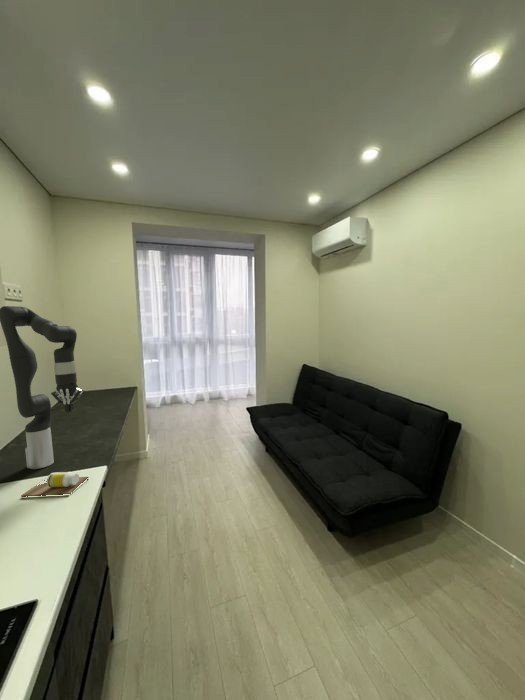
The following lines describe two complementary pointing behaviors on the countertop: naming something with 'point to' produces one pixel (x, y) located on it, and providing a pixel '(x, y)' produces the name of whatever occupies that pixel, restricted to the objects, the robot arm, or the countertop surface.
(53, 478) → the supplement bottle
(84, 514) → the countertop surface
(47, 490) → the walnut board
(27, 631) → the countertop surface
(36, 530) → the countertop surface
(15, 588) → the countertop surface
